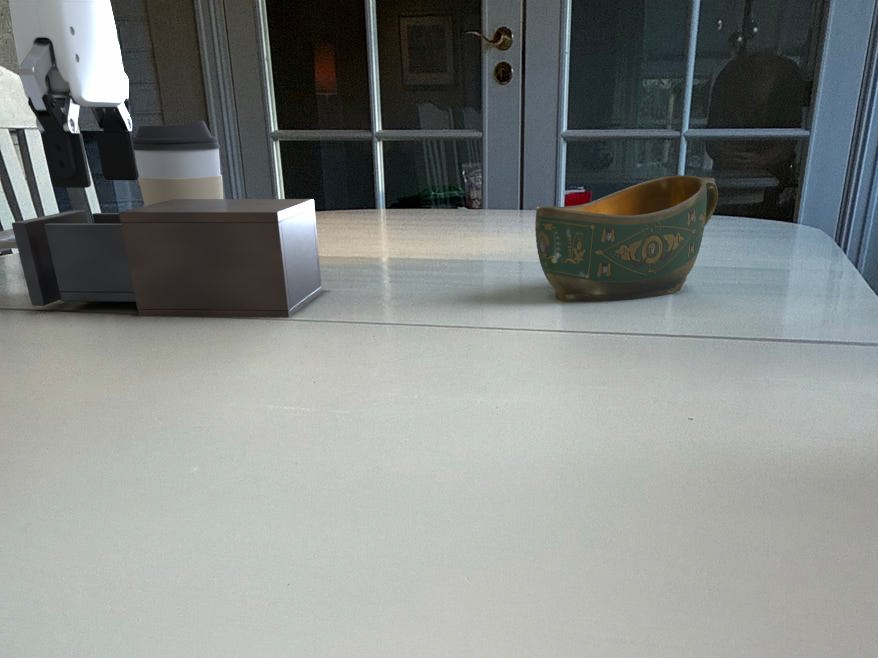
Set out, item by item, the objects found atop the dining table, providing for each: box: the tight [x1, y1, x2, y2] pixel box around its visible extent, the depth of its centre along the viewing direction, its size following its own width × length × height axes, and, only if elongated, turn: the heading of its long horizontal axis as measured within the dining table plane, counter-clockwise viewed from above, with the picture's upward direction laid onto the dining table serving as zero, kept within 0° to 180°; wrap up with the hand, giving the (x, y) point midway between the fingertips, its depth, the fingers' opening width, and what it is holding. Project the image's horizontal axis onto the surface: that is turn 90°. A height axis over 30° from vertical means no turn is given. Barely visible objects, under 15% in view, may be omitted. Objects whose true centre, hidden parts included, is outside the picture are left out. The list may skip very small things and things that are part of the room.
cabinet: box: [118, 198, 323, 318], centre depth 82 cm, size 14×13×9 cm
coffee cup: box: [132, 120, 224, 206], centre depth 96 cm, size 9×9×15 cm
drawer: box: [0, 209, 136, 307], centre depth 83 cm, size 18×11×7 cm, turn 85°
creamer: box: [534, 174, 719, 303], centre depth 86 cm, size 13×20×10 cm, turn 98°
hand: (98, 183), depth 80 cm, fingers open, 9 cm apart
